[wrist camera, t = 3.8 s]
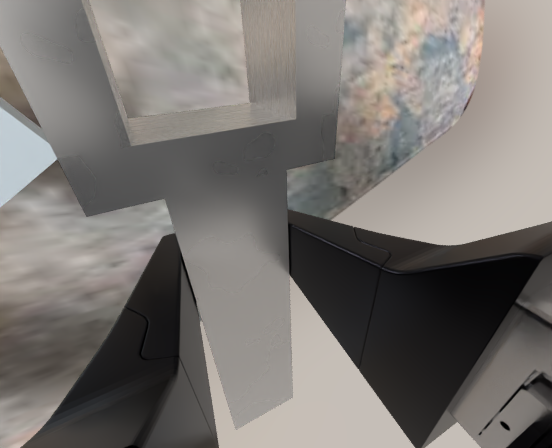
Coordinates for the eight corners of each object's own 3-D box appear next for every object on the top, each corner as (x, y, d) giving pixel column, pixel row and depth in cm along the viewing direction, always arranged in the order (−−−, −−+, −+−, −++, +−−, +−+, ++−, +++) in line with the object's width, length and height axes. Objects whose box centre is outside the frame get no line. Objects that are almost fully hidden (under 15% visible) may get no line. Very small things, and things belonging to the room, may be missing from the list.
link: (-55, -182, 4) (-250, -446, 2) (276, -120, 6) (361, -218, 4) (190, 385, 14) (203, 448, 12) (290, 336, 16) (318, 382, 14)
